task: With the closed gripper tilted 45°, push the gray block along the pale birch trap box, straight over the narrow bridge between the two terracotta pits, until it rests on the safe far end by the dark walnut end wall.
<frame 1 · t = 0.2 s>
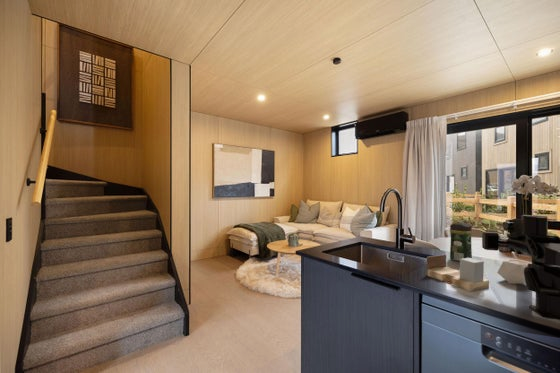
hand: (502, 238, 97), 16 cm above the counter, tool horizontal, fingers open, 9 cm apart
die: (513, 283, 96), on the counter
gray block: (471, 279, 92), point 2 cm above the counter, touching trap box
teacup: (522, 275, 104), on the counter
coffee jar: (460, 260, 125), on the counter
trap box: (456, 281, 97), on the counter
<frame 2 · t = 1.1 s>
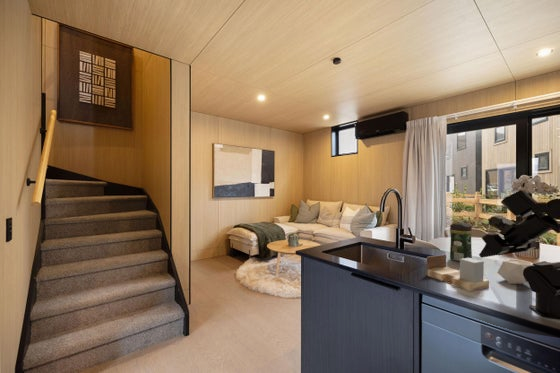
hand: (488, 255, 87), 13 cm above the counter, tool tilted 45°, fingers open, 8 cm apart
nothing on the counter moved.
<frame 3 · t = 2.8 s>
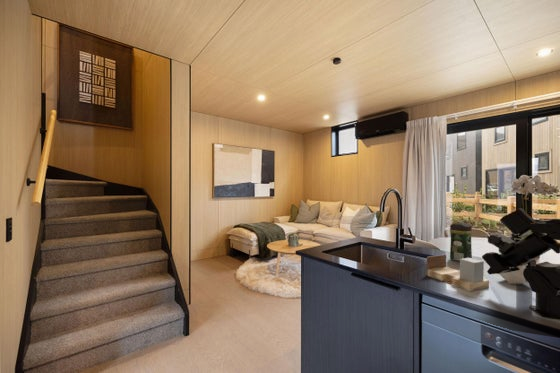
hand: (488, 272, 87), 7 cm above the counter, tool tilted 45°, fingers closed
nothing on the counter moved.
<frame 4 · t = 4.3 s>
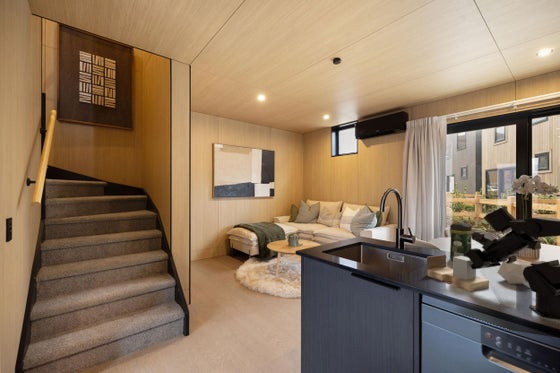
hand: (472, 267, 92), 7 cm above the counter, tool tilted 45°, fingers closed
gray block: (464, 276, 94), point 3 cm above the counter
everything else where it was.
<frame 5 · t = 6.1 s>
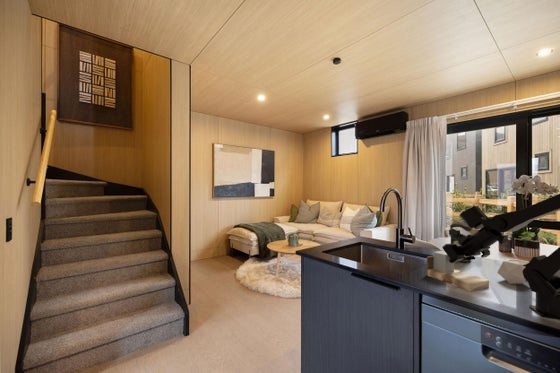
hand: (450, 261, 99), 7 cm above the counter, tool tilted 45°, fingers closed
gray block: (443, 270, 102), point 2 cm above the counter, touching trap box
everything else where it was.
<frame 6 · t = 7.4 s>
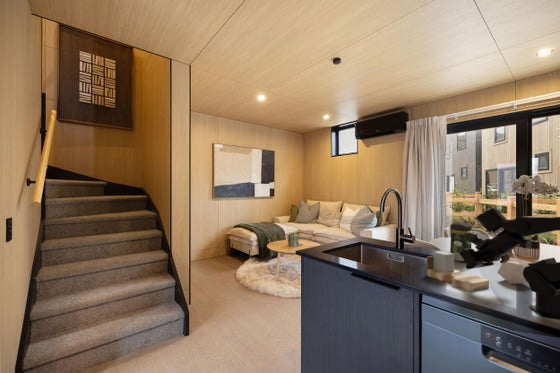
hand: (467, 268, 94), 6 cm above the counter, tool tilted 45°, fingers closed
nothing on the counter moved.
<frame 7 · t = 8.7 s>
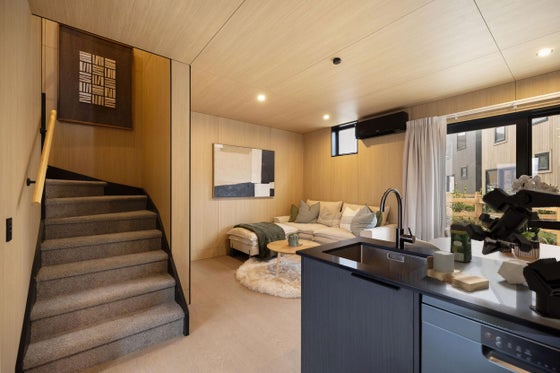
hand: (483, 253, 91), 12 cm above the counter, tool tilted 35°, fingers closed
nothing on the counter moved.
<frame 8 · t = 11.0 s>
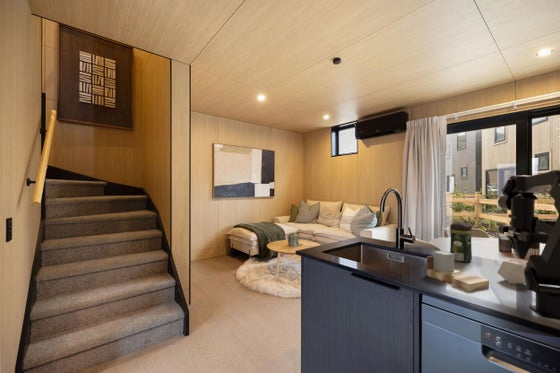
hand: (521, 258, 86), 12 cm above the counter, tool pointing down, fingers closed
nothing on the counter moved.
at the end: gray block 0.4 cm from the target spot, point 2.5 cm above the counter; gray block tilted 0°; gray block moved 10.5 cm from its start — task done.
